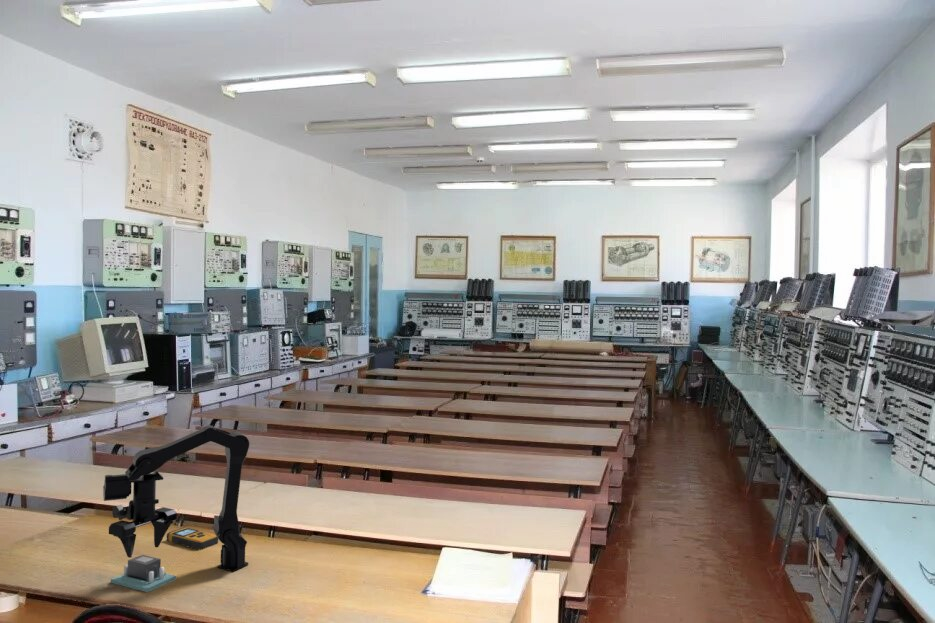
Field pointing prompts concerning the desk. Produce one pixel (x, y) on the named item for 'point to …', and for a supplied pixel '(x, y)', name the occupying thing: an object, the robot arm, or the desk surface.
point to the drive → (143, 567)
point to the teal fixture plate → (141, 584)
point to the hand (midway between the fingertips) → (143, 552)
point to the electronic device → (192, 538)
